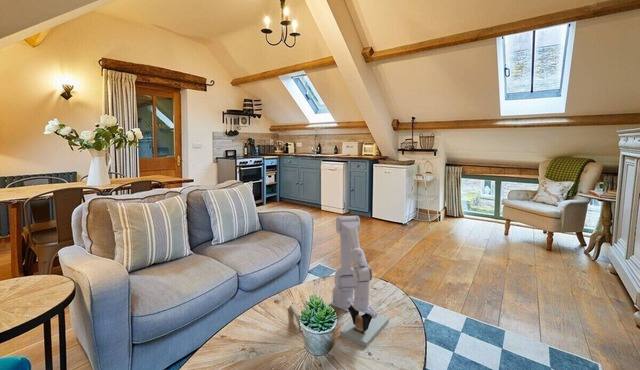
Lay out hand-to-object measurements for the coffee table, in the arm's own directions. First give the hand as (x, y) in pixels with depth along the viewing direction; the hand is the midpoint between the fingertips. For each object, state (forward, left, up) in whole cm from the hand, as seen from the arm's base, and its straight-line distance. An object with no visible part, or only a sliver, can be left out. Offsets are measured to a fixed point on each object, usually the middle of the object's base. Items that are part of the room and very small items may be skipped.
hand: (360, 326), depth 126 cm
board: (0, +4, -3) cm, 5 cm away
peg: (0, 0, -3) cm, 3 cm away
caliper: (-28, -8, -4) cm, 29 cm away
